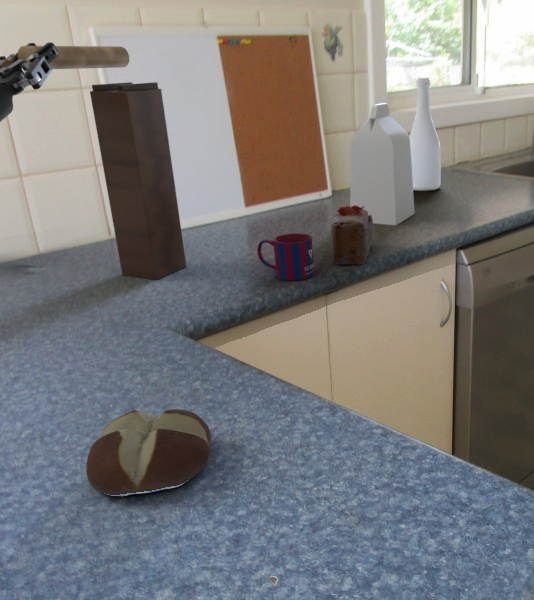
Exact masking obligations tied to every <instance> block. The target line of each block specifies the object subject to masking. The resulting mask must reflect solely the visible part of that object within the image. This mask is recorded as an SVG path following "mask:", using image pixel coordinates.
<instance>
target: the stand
mask: <svg viewBox="0 0 534 600" xmlns="http://www.w3.org/2000/svg"><path fill="white" fill-rule="evenodd" d="M91 88H92V90H91V91H89V95H90V101H91V106H92V112H93V117H94V123H95V128H96V134H97V140H98V145H99V151H100V156H101V163H102V169H103V173H104V179H105V185H106V190H107V191H106V192H107V196H108V203H109V207H110V215H111V220H112V224H113V230H114V236H115V240H116V247H117V252H118V257H119V264H120V270H121V275H122V276H127V277H133V278H142V279H147V280H152V281H153V280H154V281H157V280H159V279H162V278H164V277H166V276H169V275H171V274H174V273H177V272H178V271H180V270H182V269H185V268H187V262H186V254H185V247H184V241H183V233H182V225H181V218H180V211H179V204H178V197H177V191H176V190H177V189H176V183H175V182H176V181H175V177H174V176H175V175H174V168H173V163H172V156H171V155H172V154H171V147H170V139H169V135H168V126H167V119H166V113H165V112H166V111H165V105H164V97H163V90H162V88H159V83H158V82H156V81H155V82H141V83H133V82H131V81H130V82H128V81H127V82H113V83H100V84H92V85H91Z"/></svg>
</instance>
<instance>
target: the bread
mask: <svg viewBox="0 0 534 600" xmlns="http://www.w3.org/2000/svg"><path fill="white" fill-rule="evenodd" d="M211 439H212V434H211V431H210V428H209V426H208V424H207V423H206V422H205V421H204V420H203V418H201V416H199V415H198V414H196V413H195V412H192V411H190V410H186V409H179V408H172V409H166V410H164V411H163V412H162V413H161V414H160V415H158V416H156V415H155V414H153V413H150V412H146V411H144V410H135V409H133V410H130V411H128V412H126V413H124V414H122V415H121V416H118V417H116V418H114V419H113V420H111V422H109V423H108V424H107V425H106V427H105V428H104V429H103V431H102V432H101V434H100V437H99V438H98V439H97V440H96V441H94V442H93V444H92V445H91V447H90V448H89V452H88V455H87V459H86V464H85V465H86V466H85V467H86V469H85V472H86V478H87V481H88V483H89V485H90V487H92V488H93V489H94V490H95V489H96V490H97V491H96V490H95V491H96V492H98V491H99V492H98V493H100V492H101V493H105V494H109V495H120V494H127V493H136V492H144V491H152V490H156V489H161V488H165V487H171V486H177V485H180V484H182V483H184V482H186V481H187V480H189V479H190V478H192V477H193V476H194V477H196V476H197V475H198V474H200V472H201V471H202V470H203V469H204V468H205V467H206V466H207V464H208V463H209V460H210V456H211V449H210V444H211V441H212V440H211ZM197 473H198V474H197ZM196 474H197V475H196ZM195 475H196V476H195ZM194 477H193V478H194ZM193 478H192V479H193ZM189 481H190V480H189ZM101 493H100V494H101Z"/></svg>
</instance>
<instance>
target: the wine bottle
mask: <svg viewBox="0 0 534 600" xmlns="http://www.w3.org/2000/svg"><path fill="white" fill-rule="evenodd" d="M430 87H431V80H430V77H417V79H416V88H417V92H416V93H417V94H416V95H417V98H416V99H417V100H416V112H415V117H414V119H413V122H412V123H413V124H412V127H411V130H410V134H409V138H410V148H411V164H412V180H413V191H418V192H429V191H436V190H438V189H439V188H440V187H441V182H442V181H441V175H442V174H441V171H442V170H441V168H442V167H441V166H442V164H441V162H442V161H441V159H442V155H441V152H442V151H441V149H442V147H441V143H440V138H439V135H438V133H437V130H436V127H435V123H434V121H433V117H432V113H431V107H430Z"/></svg>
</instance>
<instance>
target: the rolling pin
mask: <svg viewBox="0 0 534 600" xmlns="http://www.w3.org/2000/svg"><path fill="white" fill-rule="evenodd" d="M43 46H44V45H36V46H26V45H22V46H20V47H19V48H18V50H17V52H18V60H19V59H22V60H25V59H27V58H28V57H30V56H31V55H32V54H34V53H35V52H37V51H38V50H39V49H40V48H41V47H43ZM55 47H56V48H57V50H58V51H59V55H58V56H57V57H56V58H55V59H53V60H52V61H51V62H50V63H49V66H50V67H51V69H52V70H73V69H75V70H77V69H80V70H81V69H108V68H110V69H111V68H113V69H115V68H116V69H117V68H126V67H128V65H129V64H130V54H129V52H128V50H127V49H126V48H125V47H123V46H108V45H107V46H105V45H104V46H102V45H99V46H98V45H97V46H95V45H92V46H91V45H89V46H88V45H55ZM32 63H33V62H32ZM32 63H30V66H31V64H32Z"/></svg>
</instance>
